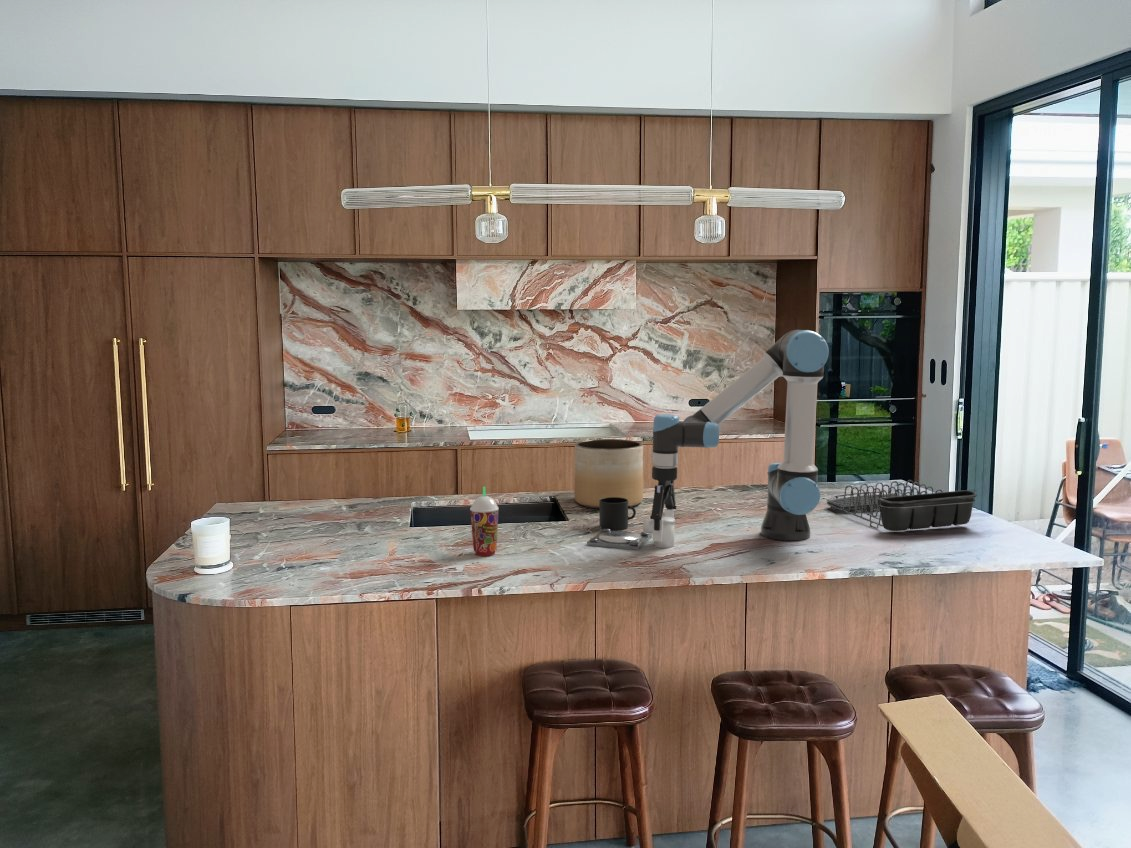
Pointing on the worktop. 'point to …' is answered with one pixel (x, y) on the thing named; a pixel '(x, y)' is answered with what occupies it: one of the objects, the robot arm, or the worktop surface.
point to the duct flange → (619, 539)
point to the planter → (608, 471)
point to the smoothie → (484, 525)
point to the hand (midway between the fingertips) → (663, 535)
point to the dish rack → (909, 507)
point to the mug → (614, 513)
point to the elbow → (666, 531)
